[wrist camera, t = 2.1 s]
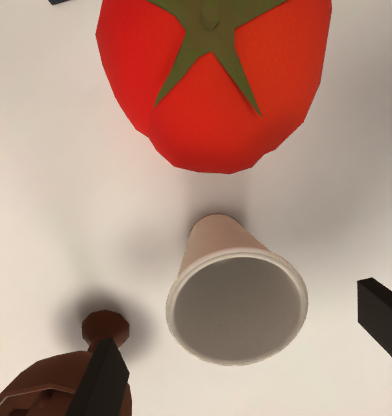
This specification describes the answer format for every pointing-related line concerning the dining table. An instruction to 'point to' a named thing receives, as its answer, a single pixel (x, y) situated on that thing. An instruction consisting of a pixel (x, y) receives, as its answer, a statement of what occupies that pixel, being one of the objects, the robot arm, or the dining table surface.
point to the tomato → (214, 74)
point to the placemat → (55, 1)
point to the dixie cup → (234, 296)
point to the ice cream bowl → (63, 373)
